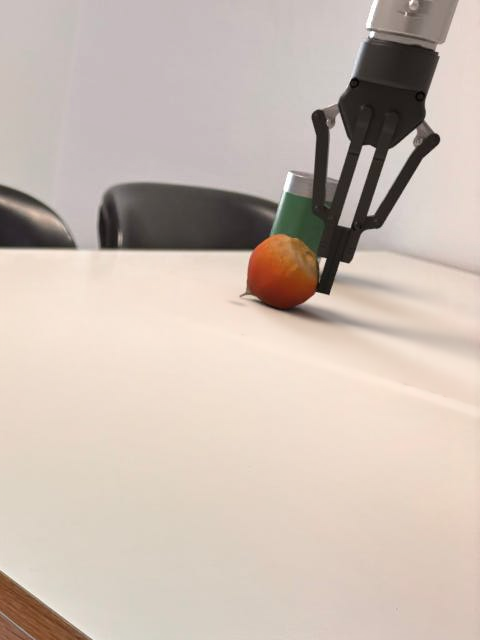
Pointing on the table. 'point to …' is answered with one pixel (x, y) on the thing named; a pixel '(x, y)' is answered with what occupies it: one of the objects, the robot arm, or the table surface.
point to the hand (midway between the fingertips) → (323, 291)
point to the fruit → (282, 272)
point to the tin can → (301, 210)
